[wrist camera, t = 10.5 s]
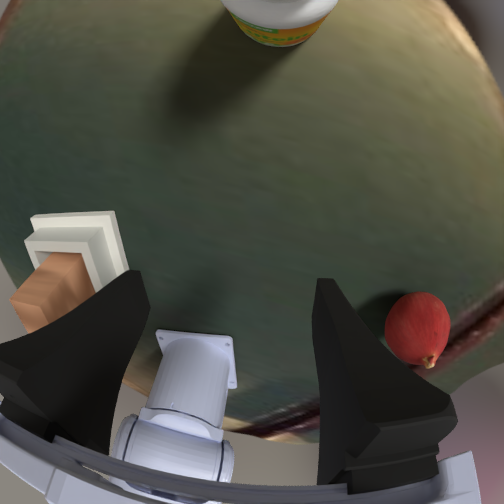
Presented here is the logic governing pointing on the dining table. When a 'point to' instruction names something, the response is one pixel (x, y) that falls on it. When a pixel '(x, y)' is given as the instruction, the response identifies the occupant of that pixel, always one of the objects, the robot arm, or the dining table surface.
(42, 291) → the peg
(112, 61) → the dining table surface
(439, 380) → the dining table surface
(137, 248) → the dining table surface
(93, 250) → the socket
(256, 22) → the supplement bottle
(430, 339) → the onion
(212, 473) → the robot arm
